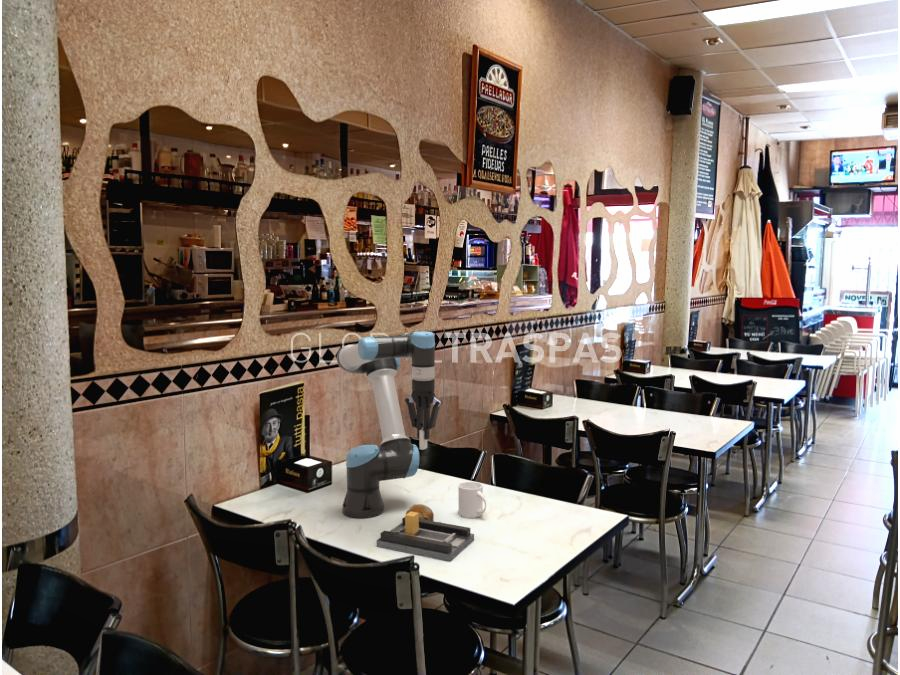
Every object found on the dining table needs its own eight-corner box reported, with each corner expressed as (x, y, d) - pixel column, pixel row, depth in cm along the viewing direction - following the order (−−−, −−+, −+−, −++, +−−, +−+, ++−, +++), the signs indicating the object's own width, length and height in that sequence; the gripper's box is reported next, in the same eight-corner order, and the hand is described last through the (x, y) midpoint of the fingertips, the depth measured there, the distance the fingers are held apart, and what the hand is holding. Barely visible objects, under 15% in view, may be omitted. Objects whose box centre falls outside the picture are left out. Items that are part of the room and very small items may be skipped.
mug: (476, 523, 242) (476, 493, 241) (453, 514, 251) (453, 485, 249) (494, 517, 247) (494, 487, 246) (470, 508, 256) (470, 479, 255)
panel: (376, 546, 222) (376, 533, 222) (404, 526, 238) (404, 515, 238) (450, 561, 211) (450, 548, 211) (474, 539, 227) (474, 527, 227)
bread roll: (435, 530, 245) (439, 507, 247) (426, 528, 236) (429, 504, 238) (409, 527, 248) (413, 504, 250) (399, 524, 239) (403, 500, 241)
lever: (404, 535, 225) (404, 515, 225) (411, 531, 229) (411, 511, 229) (412, 537, 224) (412, 516, 223) (419, 532, 228) (419, 512, 227)
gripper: (400, 378, 230) (400, 448, 233) (435, 382, 224) (435, 453, 227) (411, 375, 236) (411, 443, 239) (446, 378, 231) (445, 448, 234)
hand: (423, 448), depth 233 cm, fingers closed
